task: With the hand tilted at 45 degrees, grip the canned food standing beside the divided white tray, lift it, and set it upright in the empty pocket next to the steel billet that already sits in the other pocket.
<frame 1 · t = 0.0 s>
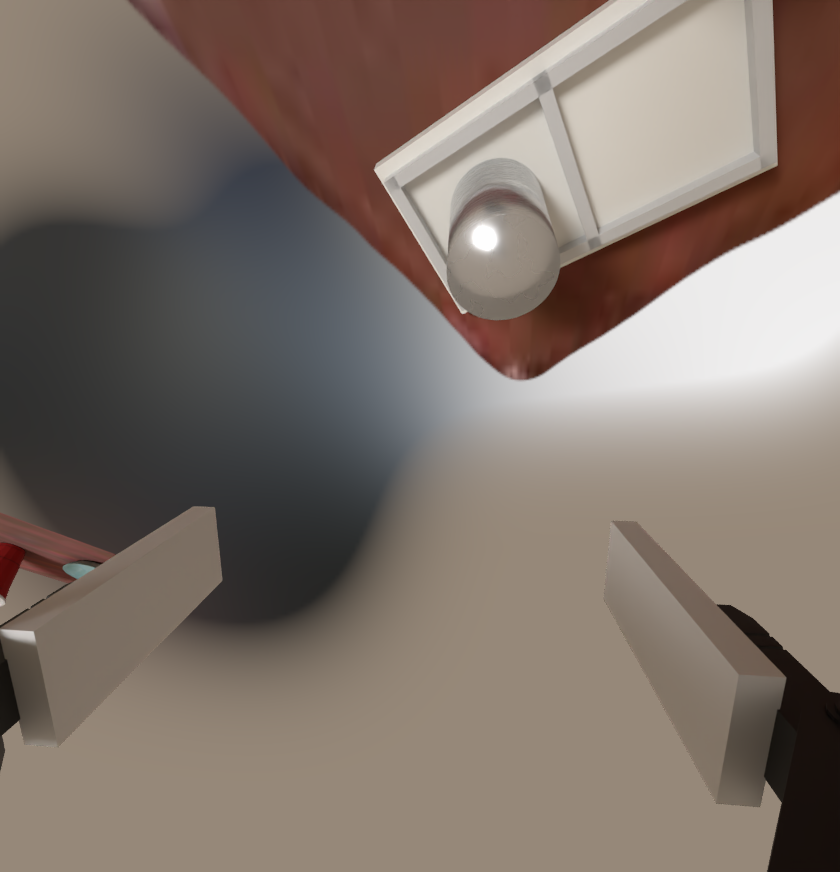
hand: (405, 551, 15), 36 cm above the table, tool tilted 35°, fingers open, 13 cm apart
divided white tray: (566, 161, 37), on the table
plastic cup: (12, 547, 105), on the table
saucer: (95, 565, 110), on the table
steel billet: (495, 209, 39), point 1 cm above the table, touching divided white tray
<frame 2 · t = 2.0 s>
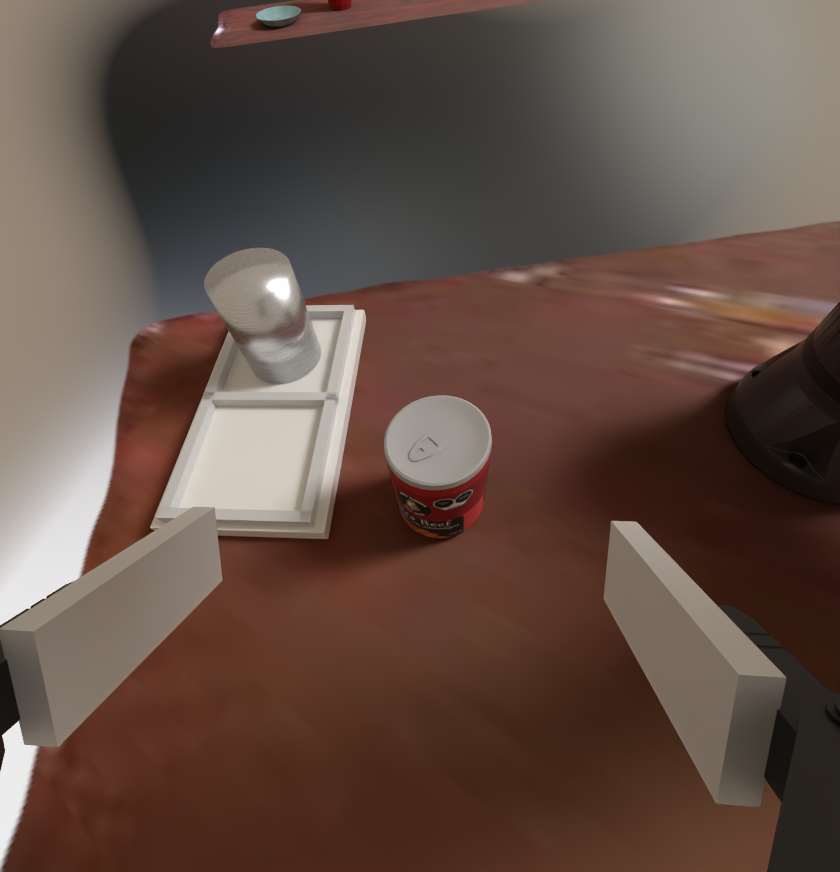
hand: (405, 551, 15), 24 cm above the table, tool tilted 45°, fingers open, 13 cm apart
divided white tray: (277, 411, 48), on the table
plastic cup: (341, 8, 122), on the table
saucer: (281, 24, 119), on the table
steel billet: (286, 356, 50), point 2 cm above the table, touching divided white tray
canned food: (441, 501, 41), on the table
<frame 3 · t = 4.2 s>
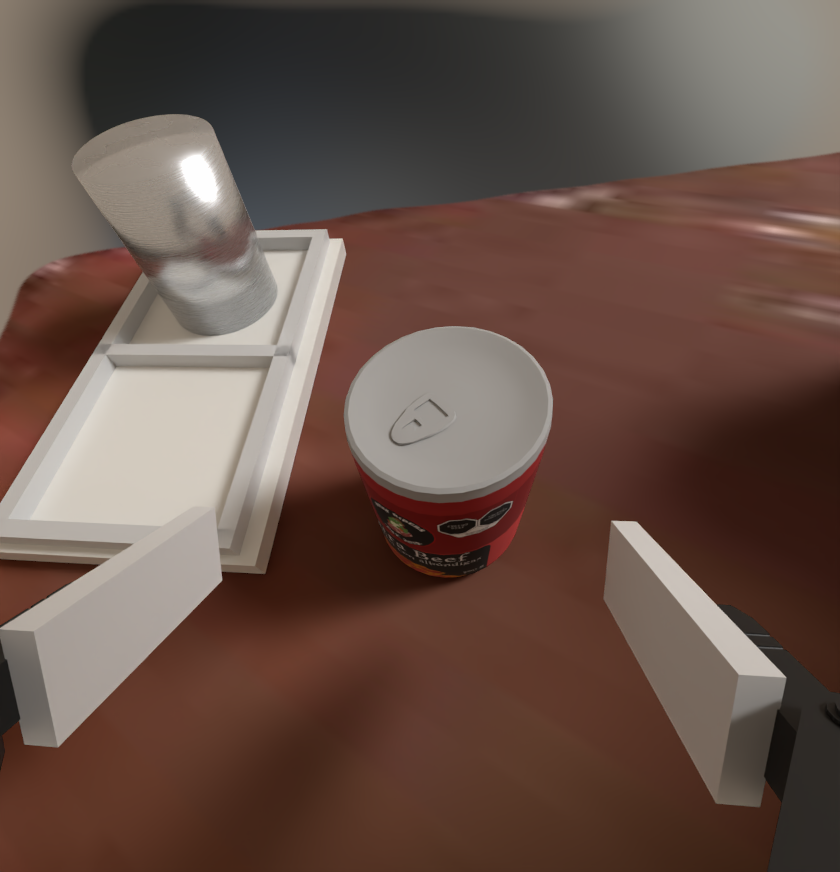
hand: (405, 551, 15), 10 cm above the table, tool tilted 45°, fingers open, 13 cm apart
divided white tray: (208, 375, 33), on the table
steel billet: (226, 298, 35), point 1 cm above the table, touching divided white tray
canned food: (449, 515, 26), on the table
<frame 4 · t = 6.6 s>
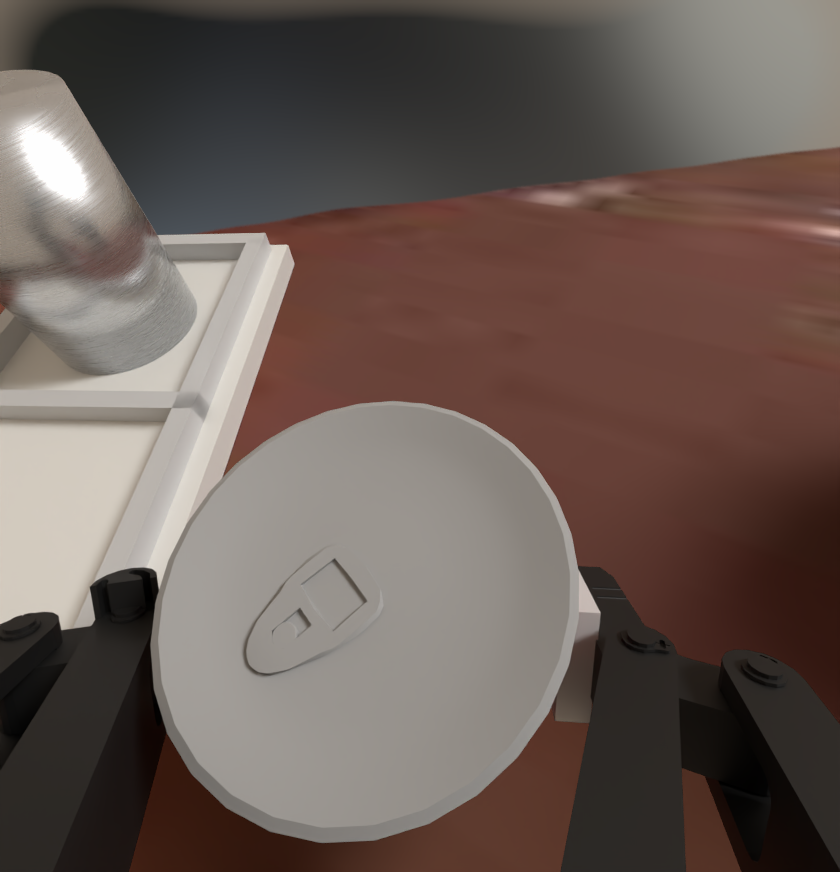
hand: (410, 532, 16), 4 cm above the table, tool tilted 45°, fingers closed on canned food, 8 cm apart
divided white tray: (97, 428, 24), on the table
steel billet: (129, 323, 27), point 2 cm above the table, touching divided white tray
canned food: (412, 649, 18), on the table, touching gripper
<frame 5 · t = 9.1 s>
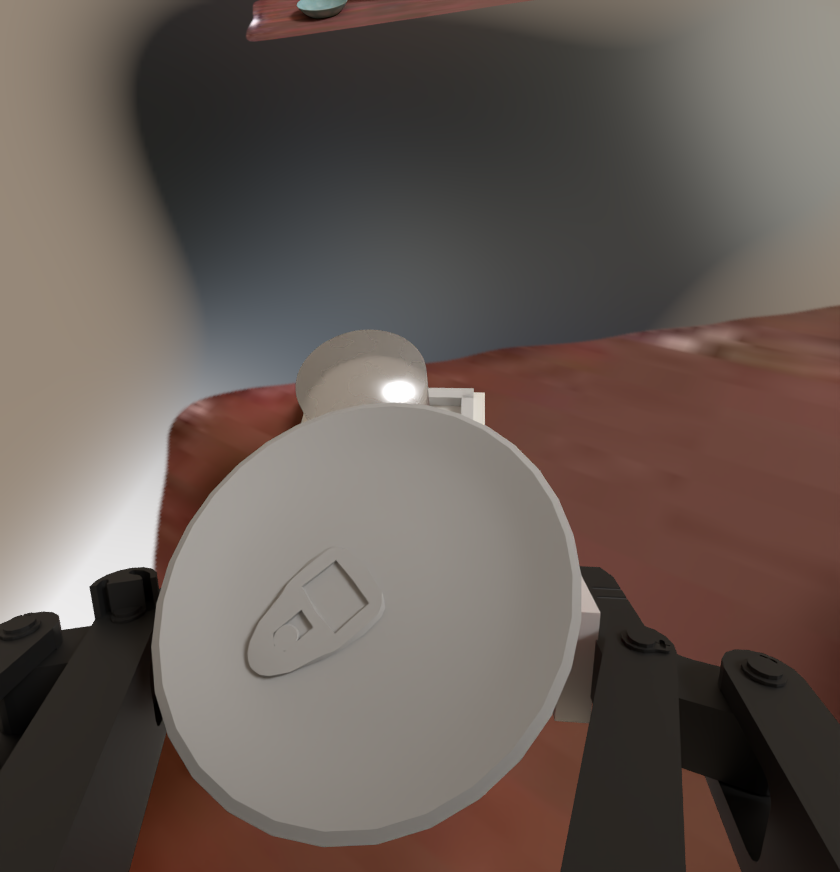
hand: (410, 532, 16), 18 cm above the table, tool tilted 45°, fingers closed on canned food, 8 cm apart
divided white tray: (378, 548, 34), on the table
saucer: (324, 15, 105), on the table
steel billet: (385, 464, 36), point 1 cm above the table, touching divided white tray
canned food: (413, 650, 18), point 14 cm above the table, touching gripper
when the fingers open (7 cm above the table, at t = 11.7 s): canned food drops 2 cm, resting on divided white tray.
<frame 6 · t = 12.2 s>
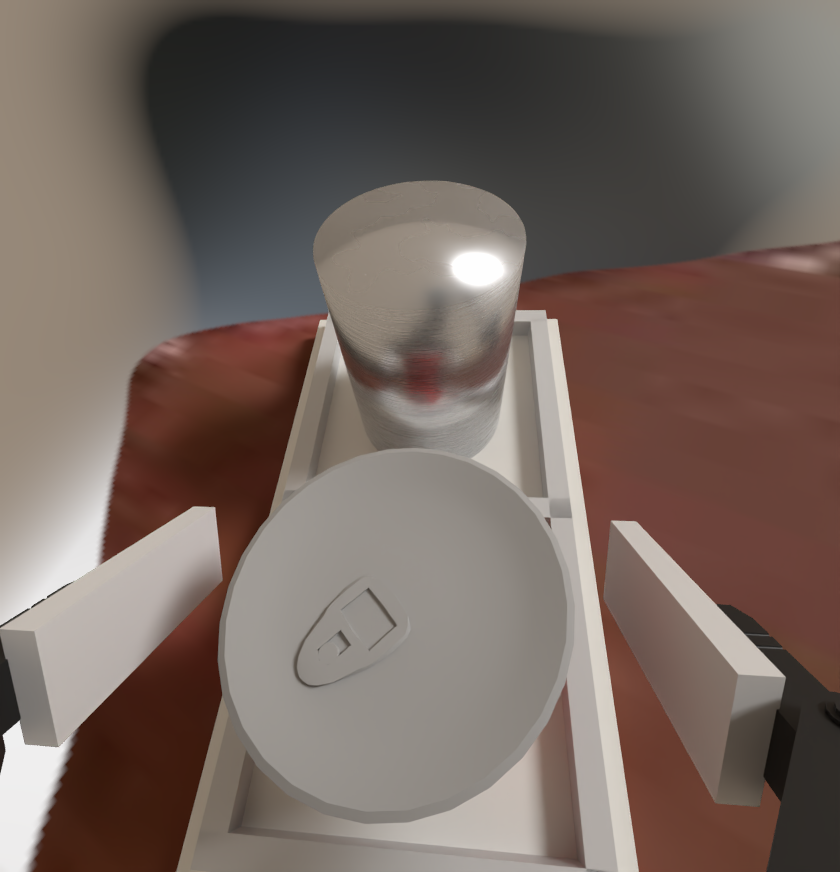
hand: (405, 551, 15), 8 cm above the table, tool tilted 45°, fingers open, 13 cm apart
divided white tray: (425, 524, 24), on the table
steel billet: (430, 409, 26), point 1 cm above the table, touching divided white tray
canned food: (422, 658, 19), point 1 cm above the table, touching divided white tray
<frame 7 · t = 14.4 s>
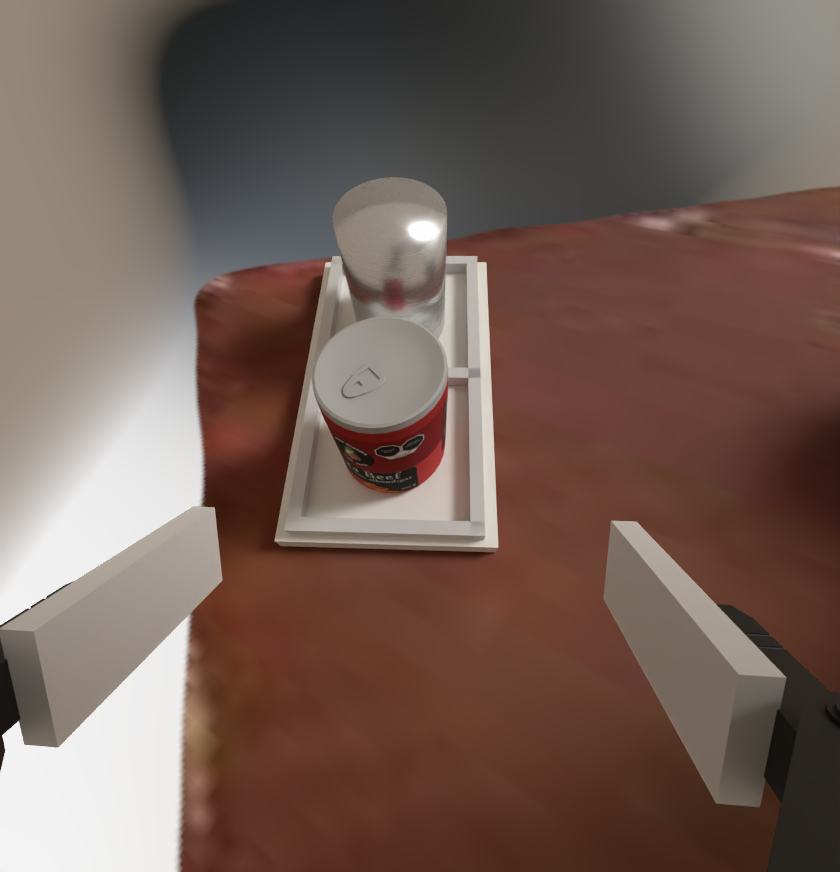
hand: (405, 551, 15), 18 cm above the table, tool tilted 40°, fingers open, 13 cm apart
divided white tray: (398, 389, 39), on the table
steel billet: (401, 320, 41), point 1 cm above the table, touching divided white tray
canned food: (395, 451, 35), point 1 cm above the table, touching divided white tray
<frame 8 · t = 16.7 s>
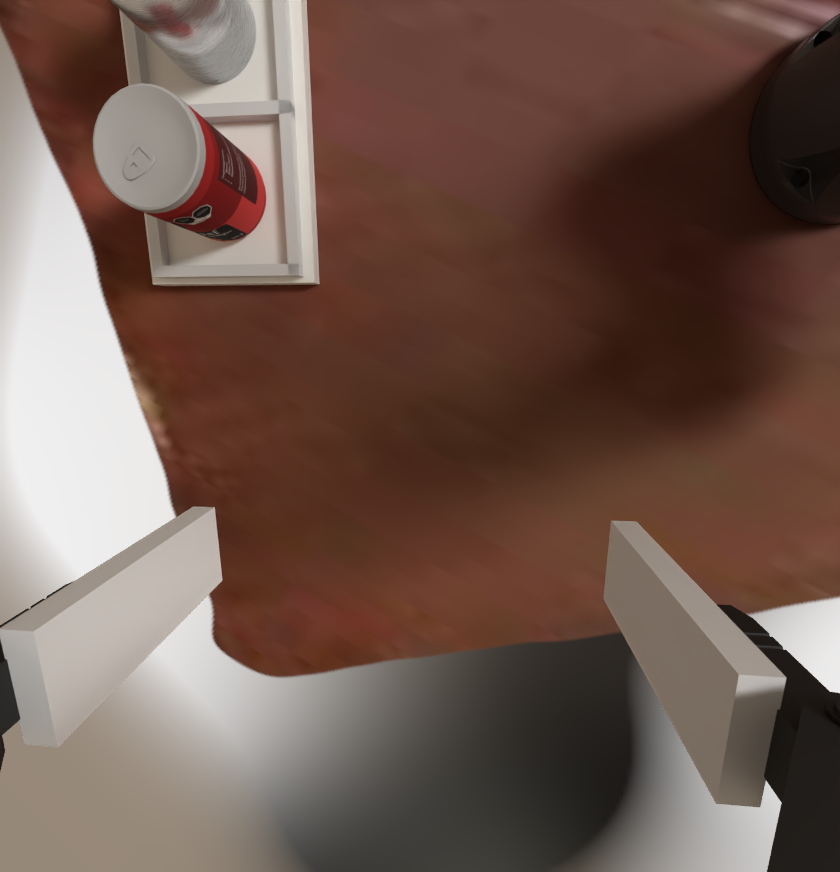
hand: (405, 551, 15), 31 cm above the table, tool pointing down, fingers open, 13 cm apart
divided white tray: (226, 124, 41), on the table
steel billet: (210, 30, 38), point 1 cm above the table, touching divided white tray
canned food: (229, 198, 41), point 1 cm above the table, touching divided white tray
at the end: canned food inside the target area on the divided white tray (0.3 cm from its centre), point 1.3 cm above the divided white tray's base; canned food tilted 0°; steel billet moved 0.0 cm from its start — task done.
